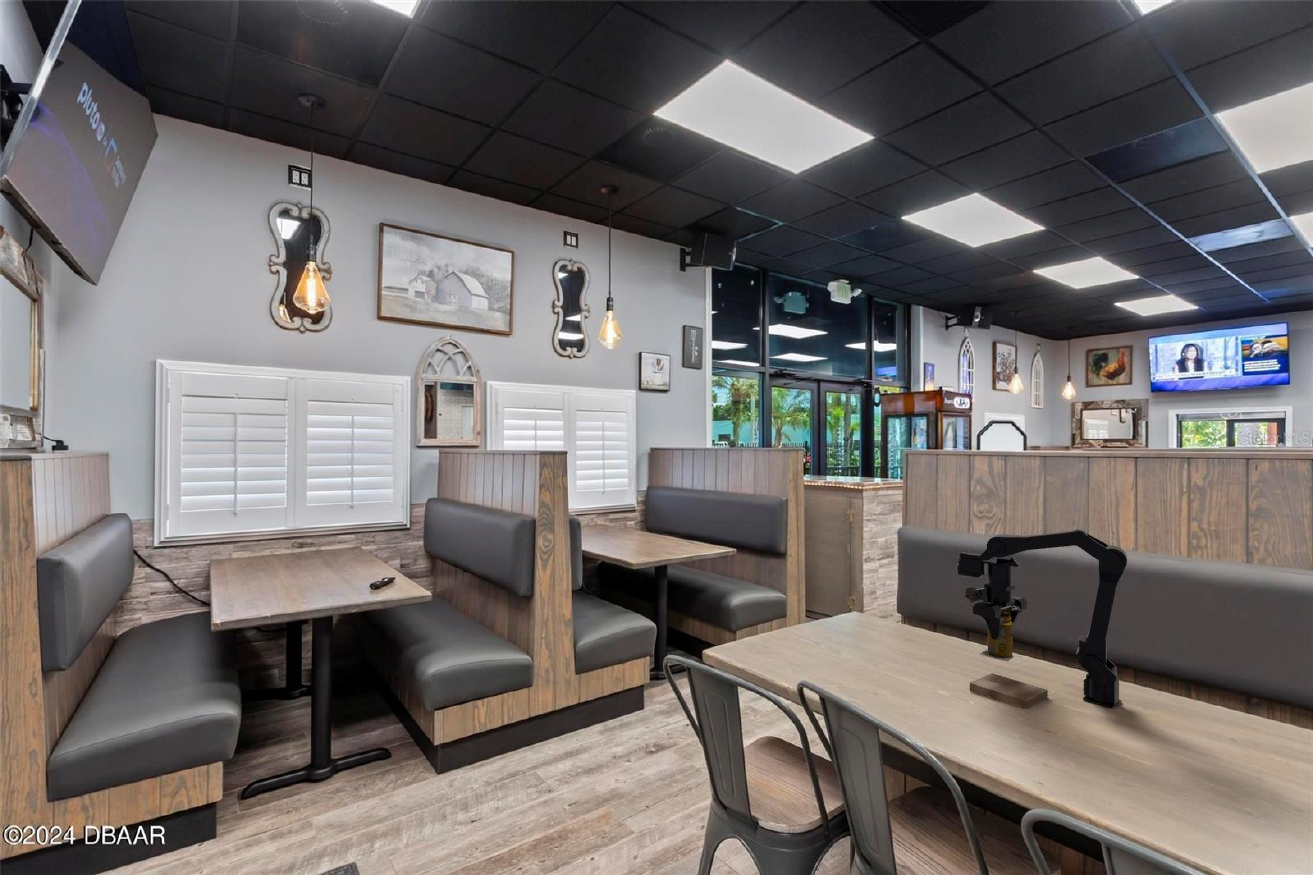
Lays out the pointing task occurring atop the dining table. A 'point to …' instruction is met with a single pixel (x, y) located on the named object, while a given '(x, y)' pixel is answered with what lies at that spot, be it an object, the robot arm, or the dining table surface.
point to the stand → (1009, 690)
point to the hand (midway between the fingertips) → (1000, 637)
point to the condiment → (1001, 641)
